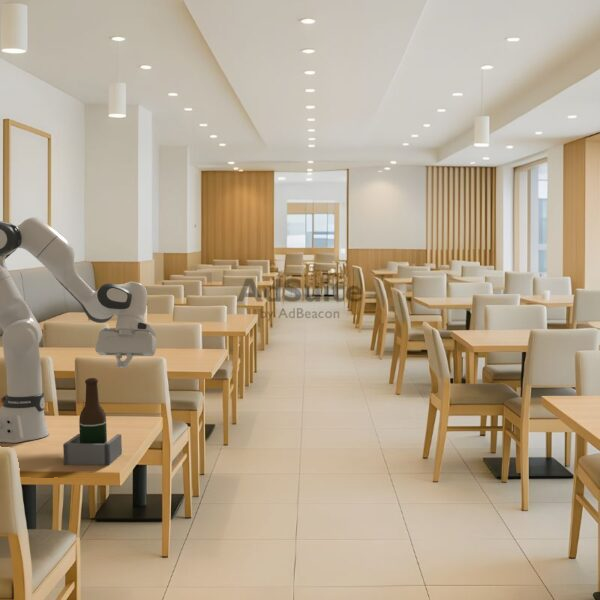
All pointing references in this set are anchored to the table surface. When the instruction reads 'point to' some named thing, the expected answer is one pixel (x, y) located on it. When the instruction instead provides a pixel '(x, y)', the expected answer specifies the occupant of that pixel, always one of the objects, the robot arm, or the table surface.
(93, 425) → the beer bottle
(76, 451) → the bottle stall
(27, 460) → the table surface
